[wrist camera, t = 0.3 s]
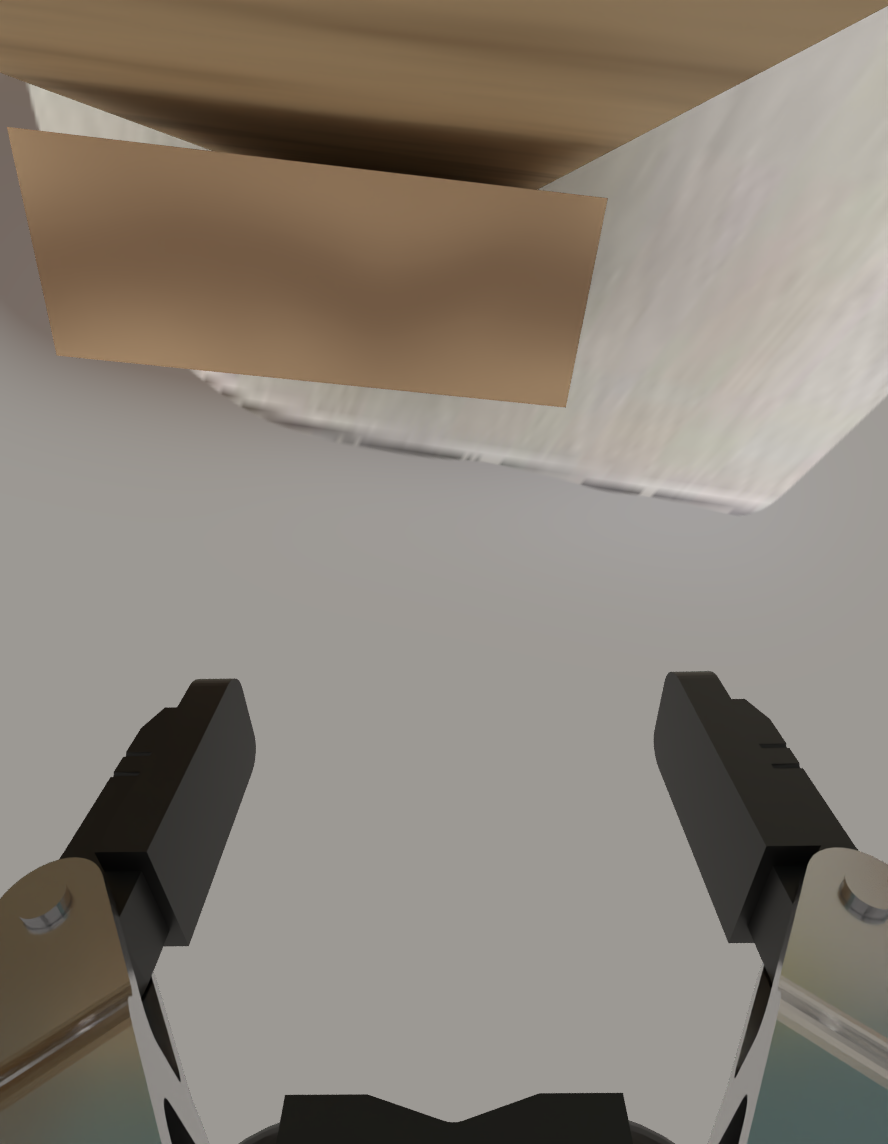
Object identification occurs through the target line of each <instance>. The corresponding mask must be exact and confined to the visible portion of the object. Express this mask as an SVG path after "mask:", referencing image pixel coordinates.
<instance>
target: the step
mask: <svg viewBox="0 0 888 1144" xmlns="http://www.w3.org/2000/svg"><path fill="white" fill-rule="evenodd" d="M7 129H8V134H9V139H10V143H11V148H12V152H13V157H14V161H15V166H16V171H17V175H18V180H19V184H20V188H21V194H22V198H23V203H24V207H25V212H26V216H27V221H28V225H29V230H30V235H31V239H32V244H33V248H34V253H35V258H36V262H37V267H38V271H39V275H40V280H41V285H42V289H43V294H44V299H45V303H46V308H47V312H48V317H49V322H50V326H51V331H52V335H53V340H54V345H55V349H56V354H57V355H58V356H68V357H77V358H87V359H97V360H106V361H116V362H126V363H136V364H145V365H156V366H165V367H175V368H185V369H194V370H204V371H214V372H224V373H234V374H243V375H253V376H263V377H273V378H283V379H292V380H302V381H312V382H322V383H332V384H341V385H351V386H361V387H371V388H381V389H391V390H400V391H410V392H420V393H430V394H440V395H449V396H459V397H469V398H479V399H489V400H498V401H508V402H518V403H528V404H538V405H547V406H557V407H566V403H567V398H568V393H569V388H570V383H571V378H572V373H573V368H574V363H575V358H576V353H577V348H578V343H579V338H580V333H581V328H582V324H583V319H584V314H585V309H586V304H587V299H588V294H589V289H590V284H591V279H592V274H593V269H594V264H595V259H596V254H597V249H598V244H599V239H600V234H601V229H602V224H603V219H604V214H605V209H606V204H607V199H608V198H601V197H592V196H584V195H576V194H567V193H559V192H550V191H542V190H534V189H525V188H517V187H508V186H500V185H491V184H483V183H475V182H466V181H458V180H449V179H441V178H433V177H424V176H416V175H407V174H399V173H390V172H382V171H374V170H365V169H357V168H348V167H340V166H331V165H323V164H315V163H306V162H298V161H289V160H281V159H273V158H264V157H256V156H247V155H239V154H230V153H222V152H214V151H205V150H197V149H188V148H180V147H172V146H163V145H155V144H146V143H138V142H129V141H121V140H113V139H104V138H96V137H87V136H79V135H70V134H62V133H54V132H45V131H37V130H28V129H20V128H11V127H7Z"/></svg>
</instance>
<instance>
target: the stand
mask: <svg viewBox="0 0 888 1144" xmlns="http://www.w3.org/2000/svg"><path fill="white" fill-rule="evenodd" d="M887 6H888V0H0V73H2V74H5V75H8V76H10V77H13V78H16V79H19V80H21V81H24V82H27V83H29V84H32V85H35V86H38V87H40V88H43V89H46V90H48V91H51V92H54V93H57V94H59V95H62V96H65V97H68V98H70V99H73V100H76V101H78V102H81V103H84V104H87V105H89V106H92V107H95V108H97V109H100V110H103V111H106V112H108V113H111V114H114V115H117V116H119V117H122V118H125V119H127V120H130V121H133V122H136V123H138V124H141V125H144V126H146V127H149V128H152V129H155V130H157V131H160V132H163V133H166V134H168V135H171V136H174V137H176V138H179V139H182V140H185V141H187V142H190V143H193V144H195V145H198V146H201V147H204V148H206V149H209V150H212V151H215V152H222V153H230V154H239V155H247V156H256V157H264V158H273V159H281V160H289V161H298V162H306V163H315V164H323V165H331V166H340V167H348V168H357V169H365V170H374V171H382V172H390V173H399V174H407V175H416V176H424V177H433V178H441V179H449V180H458V181H466V182H475V183H483V184H491V185H500V186H508V187H517V188H525V189H534V190H537V189H539V188H541V187H543V186H545V185H547V184H549V183H551V182H553V181H555V180H557V179H558V178H560V177H562V176H564V175H566V174H568V173H570V172H572V171H574V170H576V169H578V168H579V167H581V166H583V165H585V164H587V163H589V162H591V161H593V160H595V159H597V158H598V157H600V156H602V155H604V154H606V153H608V152H610V151H612V150H614V149H616V148H618V147H619V146H621V145H623V144H625V143H627V142H629V141H631V140H633V139H635V138H637V137H639V136H640V135H642V134H644V133H646V132H648V131H650V130H652V129H654V128H656V127H658V126H660V125H661V124H663V123H665V122H667V121H669V120H671V119H673V118H675V117H677V116H679V115H681V114H682V113H684V112H686V111H688V110H690V109H692V108H694V107H696V106H698V105H700V104H702V103H703V102H705V101H707V100H709V99H711V98H713V97H715V96H717V95H719V94H721V93H723V92H724V91H726V90H728V89H730V88H732V87H734V86H736V85H738V84H740V83H742V82H744V81H745V80H747V79H749V78H751V77H753V76H755V75H757V74H759V73H761V72H763V71H765V70H766V69H768V68H770V67H772V66H774V65H776V64H778V63H780V62H782V61H784V60H785V59H787V58H789V57H791V56H793V55H795V54H797V53H799V52H801V51H803V50H805V49H806V48H808V47H810V46H812V45H814V44H816V43H818V42H820V41H822V40H824V39H826V38H827V37H829V36H831V35H833V34H835V33H837V32H839V31H841V30H843V29H845V28H847V27H848V26H850V25H852V24H854V23H856V22H858V21H860V20H862V19H864V18H866V17H868V16H869V15H871V14H873V13H875V12H877V11H879V10H881V9H883V8H885V7H887Z"/></svg>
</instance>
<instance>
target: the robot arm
mask: <svg viewBox="0 0 888 1144" xmlns="http://www.w3.org/2000/svg"><path fill="white" fill-rule="evenodd" d="M654 750H655V756H656V760H657V764H658V767H659V769H660V772H661V775H662V777H663V780H664V782H665V785H666V787H667V790H668V792H669V795H670V797H671V800H672V802H673V805H674V807H675V810H676V812H677V815H678V817H679V820H680V822H681V825H682V827H683V830H684V832H685V835H686V837H687V840H688V842H689V845H690V847H691V850H692V852H693V855H694V857H695V860H696V862H697V865H698V867H699V870H700V872H701V875H702V878H703V880H704V883H705V885H706V888H707V890H708V893H709V895H710V897H711V900H712V902H713V905H714V907H715V910H716V913H717V915H718V918H719V920H720V922H721V925H722V928H723V930H724V932H725V935H726V938H727V940H728V942H729V943H755V945H756V947H757V950H758V952H759V954H760V957H761V959H762V961H763V964H762V966H761V969H760V971H759V974H758V977H757V981H756V985H755V988H754V992H753V995H752V999H751V1003H750V1006H749V1010H748V1013H747V1017H746V1021H745V1024H744V1028H743V1032H742V1035H741V1039H740V1043H739V1046H738V1050H737V1053H736V1057H735V1061H734V1064H733V1068H732V1071H731V1075H730V1078H729V1082H728V1086H727V1089H726V1092H725V1095H724V1098H723V1101H722V1104H721V1107H720V1109H719V1112H718V1114H717V1117H716V1120H715V1123H714V1126H713V1129H712V1132H711V1135H710V1138H709V1141H708V1144H888V865H887V864H886V863H884V862H883V861H880V860H879V859H877V858H875V857H873V856H871V855H868V854H866V853H863V852H860V851H858V849H857V848H856V847H855V845H854V844H853V843H852V841H851V839H850V838H849V837H848V835H847V833H846V832H845V831H844V829H843V828H842V826H841V825H840V823H839V822H838V820H837V819H836V817H835V816H834V814H833V813H832V811H831V810H830V808H829V807H828V805H827V804H826V802H825V801H824V799H823V798H822V796H821V795H820V793H819V792H818V790H817V789H816V787H815V786H814V784H813V783H812V781H811V780H810V778H809V777H808V775H807V774H806V772H805V771H804V769H803V768H802V769H801V768H800V767H799V762H798V760H797V759H796V758H795V756H794V754H793V753H792V751H791V750H790V748H787V747H786V742H785V741H784V739H783V738H782V737H781V735H780V733H779V732H778V730H777V729H776V728H775V726H774V725H773V723H772V722H771V720H770V719H769V718H768V717H767V716H765V715H764V714H763V713H761V712H760V711H759V710H758V709H757V708H755V707H754V706H753V705H752V704H750V703H749V702H748V701H747V700H745V699H731V698H730V696H729V695H728V693H727V691H726V690H725V688H724V687H723V685H722V683H721V682H720V680H719V678H718V677H717V675H716V674H715V673H713V672H711V671H698V672H670V673H668V675H667V676H666V679H665V682H664V687H663V692H662V697H661V702H660V707H659V711H658V716H657V721H656V726H655V732H654ZM255 753H256V744H255V736H254V732H253V728H252V724H251V720H250V716H249V713H248V709H247V705H246V701H245V697H244V693H243V690H242V686H241V684H240V682H239V680H237V679H197V680H195V681H193V682H192V683H191V685H190V686H189V688H188V690H187V691H186V693H185V695H184V697H183V698H182V700H181V702H180V704H179V705H178V707H176V708H164V709H163V710H162V711H161V712H159V713H158V714H157V715H156V716H155V717H154V718H152V719H151V720H150V721H149V722H148V723H147V724H146V725H144V726H143V727H142V728H141V729H140V731H139V733H138V734H137V736H136V737H135V739H134V741H133V742H132V744H131V745H130V747H129V749H128V750H127V752H126V757H123V758H122V760H121V762H120V763H119V765H118V766H117V768H116V769H115V771H114V777H111V778H110V779H109V781H108V782H107V784H106V785H105V787H104V789H103V790H102V792H101V794H100V795H99V797H98V798H97V800H96V802H95V803H94V805H93V807H92V808H91V810H90V811H89V813H88V814H87V816H86V818H85V819H84V821H83V823H82V824H81V826H80V827H79V829H78V830H77V832H76V834H75V835H74V837H73V839H72V840H71V842H70V843H69V845H68V847H67V848H66V850H65V851H64V853H63V854H62V856H61V857H60V859H59V860H56V861H53V862H50V863H48V864H46V865H43V866H41V867H39V868H37V869H35V870H34V871H32V872H30V873H29V874H27V875H26V876H24V877H23V878H21V879H20V880H19V881H18V882H16V883H15V884H14V885H13V886H12V887H11V888H10V889H9V890H8V891H7V892H6V893H5V894H4V895H3V896H2V897H1V899H0V1144H209V1141H208V1138H207V1136H206V1133H205V1130H204V1127H203V1125H202V1122H201V1120H200V1117H199V1115H198V1112H197V1110H196V1107H195V1105H194V1103H193V1100H192V1097H191V1094H190V1091H189V1088H188V1085H187V1082H186V1078H185V1075H184V1071H183V1068H182V1064H181V1061H180V1058H179V1054H178V1051H177V1048H176V1044H175V1041H174V1037H173V1034H172V1031H171V1027H170V1024H169V1021H168V1017H167V1014H166V1010H165V1007H164V1003H163V1000H162V997H161V993H160V990H159V986H158V983H157V980H156V977H155V975H154V972H153V970H154V968H155V966H156V963H157V960H158V958H159V956H160V953H161V950H162V948H163V946H189V944H190V941H191V938H192V936H193V933H194V930H195V927H196V925H197V922H198V919H199V916H200V913H201V911H202V908H203V905H204V903H205V900H206V897H207V894H208V892H209V889H210V886H211V883H212V881H213V878H214V875H215V872H216V870H217V866H218V864H219V861H220V858H221V856H222V853H223V850H224V848H225V845H226V842H227V839H228V837H229V834H230V831H231V828H232V826H233V823H234V820H235V817H236V815H237V812H238V809H239V806H240V803H241V801H242V798H243V795H244V792H245V790H246V787H247V784H248V782H249V779H250V776H251V773H252V770H253V767H254V762H255ZM239 1144H675V1143H673V1142H672V1141H670V1140H668V1139H667V1138H666V1137H664V1136H662V1135H660V1134H658V1133H656V1132H654V1131H652V1130H650V1129H648V1128H646V1127H644V1126H642V1125H640V1124H637V1123H635V1122H632V1121H629V1120H628V1116H627V1112H626V1106H625V1101H624V1097H623V1093H553V1094H552V1093H551V1094H550V1093H548V1094H547V1093H546V1094H545V1093H543V1094H542V1093H541V1094H537V1095H534V1096H531V1097H528V1098H525V1099H523V1100H520V1101H517V1102H514V1103H511V1104H509V1105H506V1106H503V1107H500V1108H497V1109H495V1110H492V1111H489V1112H486V1113H484V1114H481V1115H478V1116H475V1117H472V1118H470V1119H467V1120H464V1121H460V1122H453V1123H452V1122H446V1121H442V1120H440V1119H436V1118H434V1117H431V1116H428V1115H425V1114H422V1113H419V1112H416V1111H413V1110H411V1109H408V1108H405V1107H402V1106H399V1105H396V1104H393V1103H390V1102H387V1101H385V1100H382V1099H379V1098H376V1097H373V1096H370V1095H285V1099H284V1105H283V1110H282V1115H281V1120H280V1123H278V1124H275V1125H272V1126H270V1127H267V1128H265V1129H263V1130H261V1131H259V1132H258V1133H256V1134H254V1135H252V1136H250V1137H248V1138H246V1139H245V1140H243V1141H242V1142H240V1143H239Z"/></svg>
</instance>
